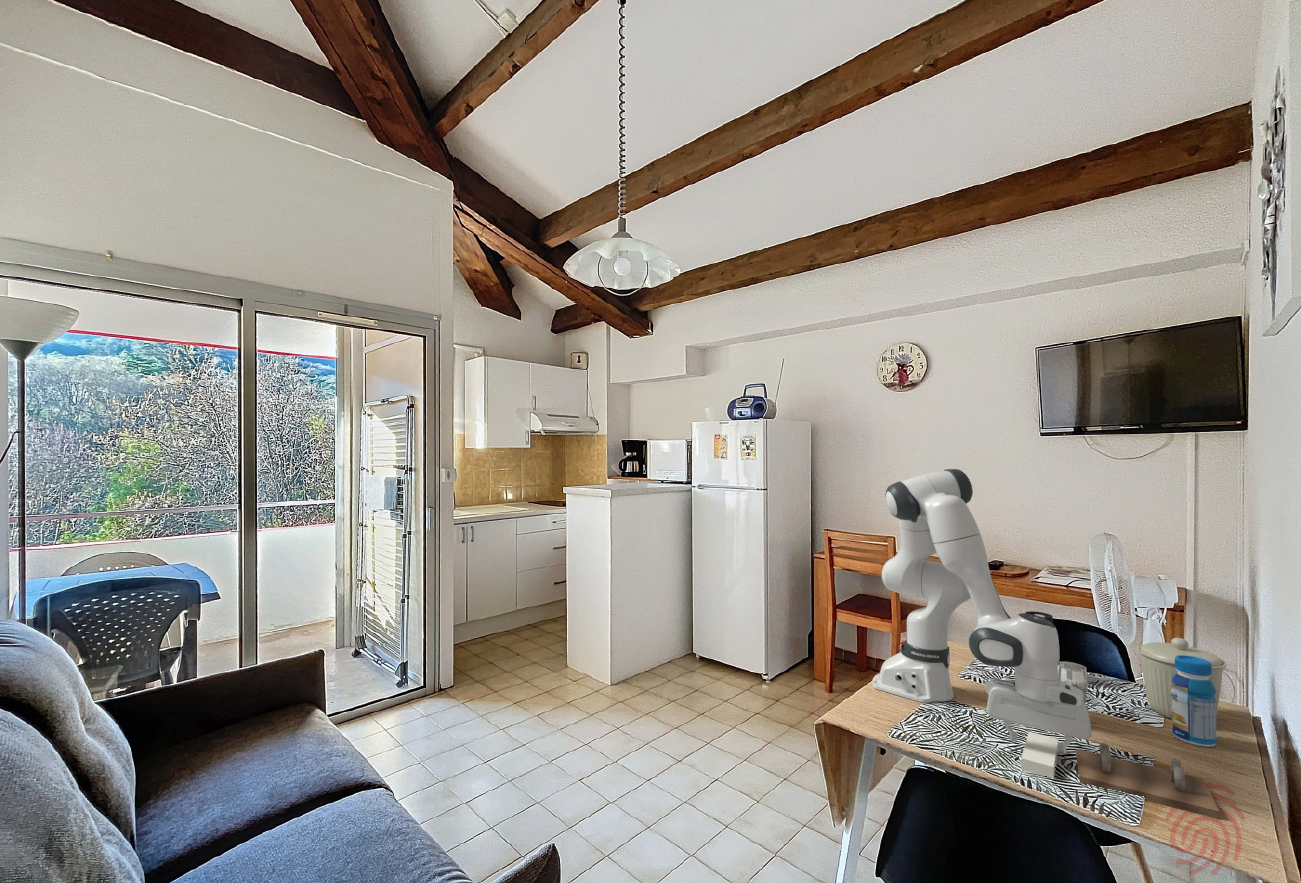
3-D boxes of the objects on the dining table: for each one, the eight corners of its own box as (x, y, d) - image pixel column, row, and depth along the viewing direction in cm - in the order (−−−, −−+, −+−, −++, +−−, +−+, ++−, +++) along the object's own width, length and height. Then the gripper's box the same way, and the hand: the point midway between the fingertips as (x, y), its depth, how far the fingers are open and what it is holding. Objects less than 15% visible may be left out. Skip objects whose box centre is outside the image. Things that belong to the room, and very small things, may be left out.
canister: (1244, 726, 151) (1243, 645, 152) (1197, 735, 146) (1196, 652, 147) (1166, 698, 169) (1165, 626, 169) (1121, 705, 164) (1120, 631, 164)
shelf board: (1021, 771, 130) (1021, 758, 130) (1029, 743, 143) (1028, 731, 143) (1053, 780, 126) (1053, 767, 127) (1058, 751, 139) (1058, 739, 139)
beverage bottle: (1211, 751, 138) (1210, 667, 139) (1166, 737, 146) (1164, 657, 146) (1222, 742, 143) (1221, 661, 143) (1178, 728, 150) (1176, 651, 150)
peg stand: (1079, 783, 125) (1079, 755, 125) (1076, 755, 137) (1075, 729, 137) (1219, 819, 113) (1219, 788, 113) (1202, 785, 124) (1202, 757, 124)
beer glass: (1093, 730, 149) (1093, 671, 149) (1063, 727, 150) (1062, 669, 151) (1079, 718, 156) (1078, 662, 156) (1050, 715, 157) (1050, 660, 158)
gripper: (984, 680, 138) (984, 738, 138) (1091, 701, 126) (1092, 765, 126) (986, 672, 143) (987, 728, 143) (1090, 692, 131) (1091, 754, 131)
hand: (1037, 746), depth 134 cm, fingers open, 8 cm apart
